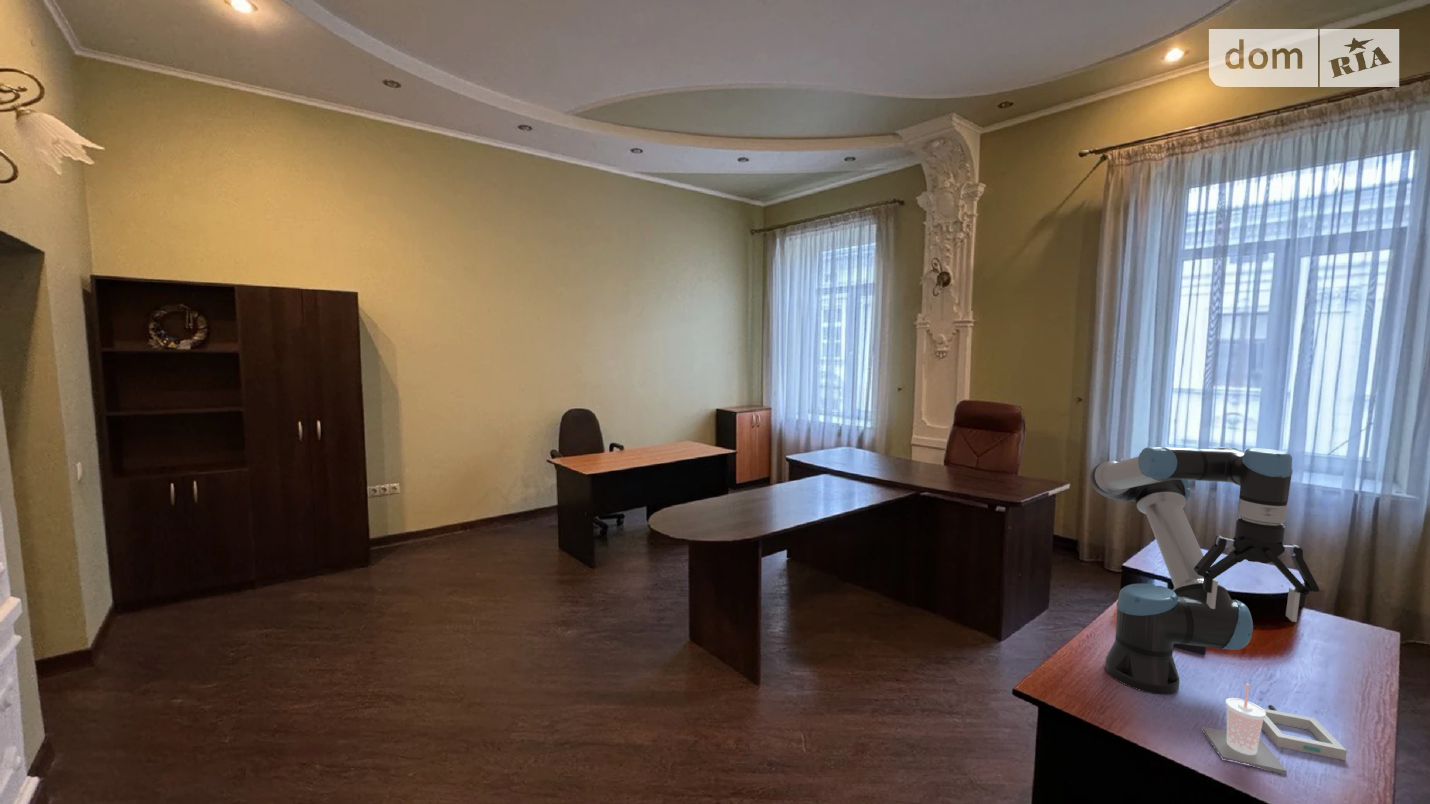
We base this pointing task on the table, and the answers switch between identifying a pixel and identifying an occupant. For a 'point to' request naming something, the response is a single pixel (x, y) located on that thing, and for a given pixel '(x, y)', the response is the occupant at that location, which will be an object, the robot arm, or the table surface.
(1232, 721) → the beverage cup
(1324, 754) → the beige flat rectangular frame
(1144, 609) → the robot arm
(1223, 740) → the coaster pad
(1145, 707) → the table surface
